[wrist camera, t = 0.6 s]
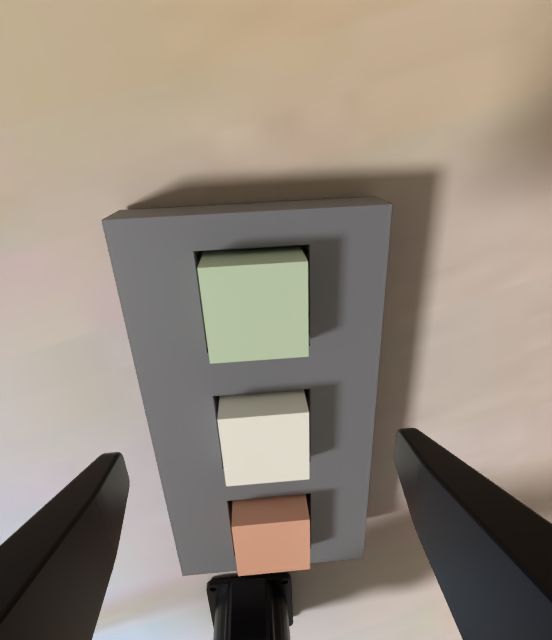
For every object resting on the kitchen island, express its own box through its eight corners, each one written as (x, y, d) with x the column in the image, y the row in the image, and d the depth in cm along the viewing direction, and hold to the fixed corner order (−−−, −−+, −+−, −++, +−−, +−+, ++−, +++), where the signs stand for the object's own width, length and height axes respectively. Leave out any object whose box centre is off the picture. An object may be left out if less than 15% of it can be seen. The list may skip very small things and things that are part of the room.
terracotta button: (304, 531, 26) (310, 569, 24) (238, 538, 26) (238, 576, 24) (303, 483, 24) (309, 519, 22) (232, 490, 24) (231, 526, 22)
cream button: (303, 445, 23) (309, 479, 21) (228, 451, 23) (226, 486, 20) (302, 382, 21) (309, 412, 19) (220, 389, 21) (217, 419, 18)
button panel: (353, 524, 28) (363, 558, 26) (187, 540, 28) (182, 575, 25) (374, 196, 19) (392, 204, 16) (119, 210, 18) (101, 220, 16)
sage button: (301, 331, 20) (308, 356, 17) (213, 337, 19) (209, 363, 17) (300, 245, 18) (308, 261, 16) (203, 251, 18) (197, 268, 15)
